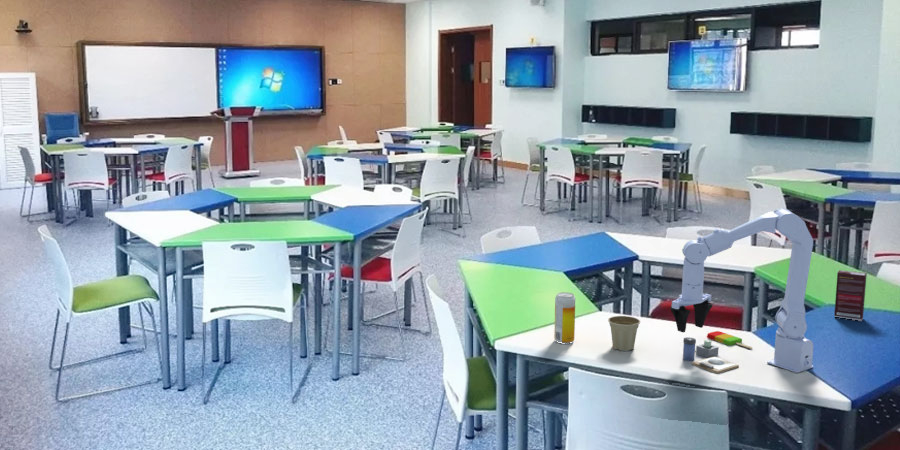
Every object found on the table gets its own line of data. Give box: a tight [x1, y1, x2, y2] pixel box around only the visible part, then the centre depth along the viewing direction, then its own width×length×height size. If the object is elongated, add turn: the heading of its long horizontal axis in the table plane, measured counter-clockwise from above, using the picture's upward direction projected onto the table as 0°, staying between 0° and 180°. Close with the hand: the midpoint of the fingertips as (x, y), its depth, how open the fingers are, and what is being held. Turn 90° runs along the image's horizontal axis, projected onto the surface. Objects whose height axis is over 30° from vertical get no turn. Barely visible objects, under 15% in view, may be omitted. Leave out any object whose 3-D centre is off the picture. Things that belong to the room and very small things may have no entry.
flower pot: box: [607, 315, 641, 352], centre depth 231 cm, size 9×9×9 cm
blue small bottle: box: [682, 336, 697, 362], centre depth 221 cm, size 3×3×6 cm
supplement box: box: [833, 269, 868, 322], centre depth 258 cm, size 9×5×16 cm, turn 58°
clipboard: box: [691, 356, 740, 374], centre depth 216 cm, size 9×9×1 cm
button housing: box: [695, 343, 720, 358], centre depth 225 cm, size 4×4×2 cm
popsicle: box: [706, 330, 753, 350], centre depth 236 cm, size 6×15×2 cm, turn 31°
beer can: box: [553, 291, 576, 343], centre depth 236 cm, size 6×6×15 cm
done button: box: [703, 339, 712, 349], centre depth 225 cm, size 2×2×2 cm
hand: (690, 329), depth 220 cm, fingers open, 7 cm apart
